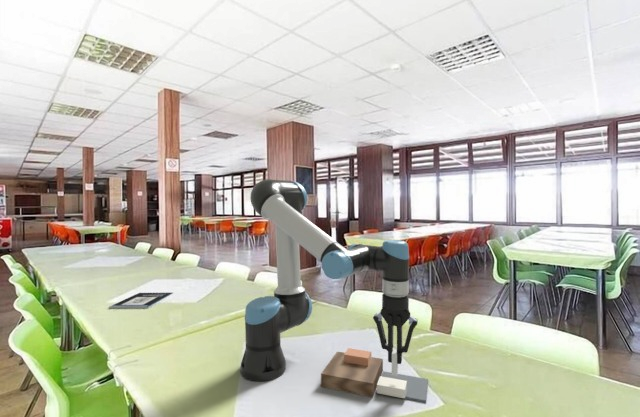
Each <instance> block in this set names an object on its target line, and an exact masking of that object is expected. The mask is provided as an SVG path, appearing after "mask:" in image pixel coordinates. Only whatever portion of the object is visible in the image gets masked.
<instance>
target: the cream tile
mask: <svg viewBox="0 0 640 417" xmlns="http://www.w3.org/2000/svg"><path fill="white" fill-rule="evenodd" d="M376 390H377V393H376V394H379V395H385V396H389V397H390V396H391V397H396V398H400V399H405V397H406V391H407V381H405V380H399V379H393V378H388V377H382V375H381V376H380V378H379V380H378V383H377V388H376Z"/></svg>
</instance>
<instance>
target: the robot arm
mask: <svg viewBox="0 0 640 417" xmlns="http://www.w3.org/2000/svg"><path fill="white" fill-rule="evenodd" d="M249 197H250V199H249V200H250V203H251V206H252V207H253V209H254V211H255V212H256V213H257V214H258V215H259V216H260V217H262V218H263V219H264V220H267V221H272V223H274V226H275V227H274V228H275V229H274V230H275V252H276V253H275V254H276V273H277V276H276V277H277V286H276V288H275V289H274V290H273V296H272V295H266V296H263V297H262V296H259V297H257V298H255V299H252V300H251V301H249V302H248V303H247V304H246V306H245V313H244V324H245V332H244V333H245V350H244V353H243V356H242V360H241V362H240V375H241V377H243V378H244V379H246V380H249V381H254V382H265V381H270V380H274V379H276V378H279V377H280V376H282V375H283V374H284V373H285V372H286V370H287V369H286V368H287V361H286V358H285V355H284V352H283V348H282V345H281V334H282V333H284V332H286V331H288V330H290V329H294V328H296V327H298V326H301V325H302V324H303V323H305V322H306V321H307V320H309V318H310V317H311V315H312V312H313V303H312V299H311V298H310V296H309V294H308V293H307V292H306V288H305V287H304V286H303V285H302V282H301V281H302V279H301V278H302V277H301V257H300V256H301V255H300V252H301V251H300V246H301V247H302V248H304V250H306V251H307V252H308V253H309V254H310V255H311V256H313V257H314V258H315V259H316V260H318V261H319V262H320V263H321V270H322V271H323V274H324V275H325V276H326V277H327V278H328V279H331V280H340V279H345V278H347V277H349V276H352V275H355V274H359V273H361V272H365V271H371V272H372V271H373V272H379V273H380V272H382V273H381V274H382V282H381V283H382V286H381V288H382V290H381V291H382V295H381V297H382V298H381V303H382V304H381V309H380V311H379V312H378V313H374V315H373V317H372V319H373V321H374V322H375V324H376V328H377V331H378V332H377V333H378V336H379V342H380V345H381V349H383V350H386V352H387V361H388V363H391V373H392V375H393V376H397V374H399V365H402V361H403V353H405V354H406V353H408V351H409V347H410V344H411V339H412V337H413V336H412V335H413V332H414V329H415V328H416V326H417V325H418V323H419V322H418V321H419V319H418V318H414V316H412V315H411V312H410V308H409V303H410V302H409V300H410V298H409V297H410V296H409V295H408V294H409V291H410V290H409V289H410V280H409V277H410V276H409V273H410V272H409V270H410V253H409V251H410V250H409V249H410V248H409V244H408V243H407V242H406V240H405V241H404V240H398V239H397V240H395V239H393V240H392V239H390V240H384V241H383V242H382V246H381V245H380V246H378V245H377V246H376V245H367V244H362V243H359V244H357V243H356V244H355V243H353V244H349V245H348V247H345V246H343V245H341V244H340V243H339V242H338V241H336V240H335V238H333V237H331V236H330V235H329V234H327V233H326V232H325V231H324V230H322V229H321V228H320V227H318V226H317V225H316V224H314V223H313V222H312V221H311V220H309V219H308V218H307V217H305V216H304V215H303V213H302V212H303V210H304V209H305V207H306V206H307V204H308V193H307V191H306V188H304V186H303V185H302V183H299V182H297V181H294V180H293V181H292V180H288V179H287V180H284V179H282V180H280V179H270V178H269V179H262V180H261V181H258V182H257V183H256V184H255V185H254V186H253V188H252V189H251V192H250V196H249ZM382 320H384V321H385V323H386V324H387V338H386V333H385V329H384V324H383V321H382ZM407 321H408V325H409V327H408V331H407V335H406V339H405V343H404V345H403V326H404V325H405V323H407ZM394 326H395V327H396V349H394Z"/></svg>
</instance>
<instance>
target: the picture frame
mask: <svg viewBox="0 0 640 417" xmlns="http://www.w3.org/2000/svg"><path fill="white" fill-rule="evenodd" d="M173 294H174V292H138V293H135V294H133V295H131V296H130V297H127V298H125V299H123V300H121V301H118V302H117V303H114V304H111V305H110V306H109V307H108V308H109V310H112V309H113V310H117V309H118V310H130V309H133V310H134V309H139V310H140V309H141V310H142V309H144V310H145V309H150V308H152V307H153V306H155V305H157V304H158V303H160V302H161V301H163V300H165V299H167V298H169V297H170V296H172V295H173Z"/></svg>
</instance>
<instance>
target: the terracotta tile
mask: <svg viewBox="0 0 640 417" xmlns="http://www.w3.org/2000/svg"><path fill="white" fill-rule="evenodd" d="M344 353H345V354H344V362H347V363H353V364H359V365H365V366H368V365H369V363H370V361H371V357H372V351H371V350H370V351H368V350H361V349H355V348H352V347H351V348H347V349H346V351H345V352H344Z"/></svg>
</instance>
